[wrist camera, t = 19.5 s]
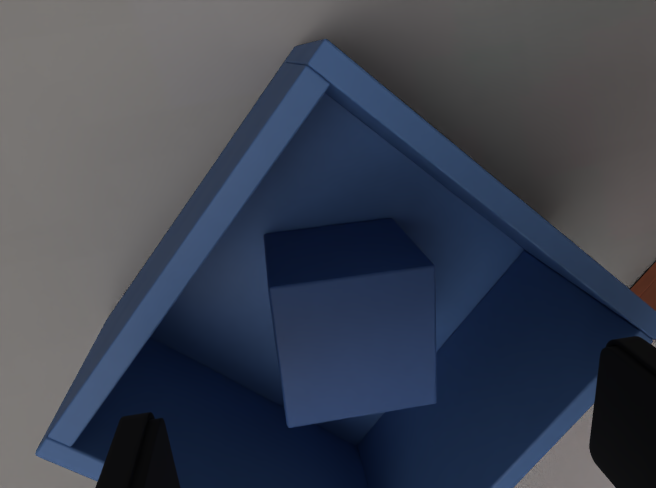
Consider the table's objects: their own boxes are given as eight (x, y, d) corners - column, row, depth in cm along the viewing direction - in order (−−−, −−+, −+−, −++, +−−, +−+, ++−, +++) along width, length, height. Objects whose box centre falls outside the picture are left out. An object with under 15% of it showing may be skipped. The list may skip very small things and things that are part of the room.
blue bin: (295, 45, 16) (325, 37, 10) (537, 239, 19) (672, 323, 13) (106, 320, 18) (32, 455, 12) (355, 451, 22) (398, 608, 15)
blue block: (262, 233, 17) (267, 288, 13) (392, 216, 18) (436, 265, 14) (278, 348, 19) (287, 430, 15) (397, 330, 19) (438, 404, 15)
